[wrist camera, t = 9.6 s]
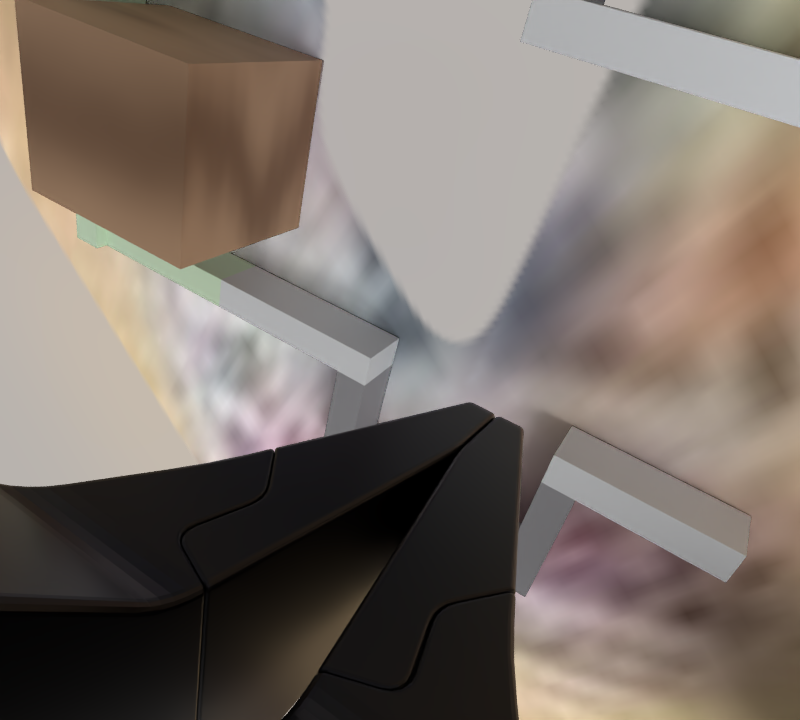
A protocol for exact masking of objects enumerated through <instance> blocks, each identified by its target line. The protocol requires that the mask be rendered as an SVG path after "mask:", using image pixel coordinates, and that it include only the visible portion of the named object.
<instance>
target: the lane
mask: <svg viewBox="0 0 800 720" xmlns="http://www.w3.org/2000/svg"><path fill="white" fill-rule="evenodd" d="M520 42H523V43H526V44H530V45H533V46H536V47H539V48H543V49H546V50H549V51H552V52H555V53H559V54H562V55H565V56H568V57H572V58H575V59H579V60H582V61H585V62H588V63H591V64H594V65H598V66H601V67H604V68H607V69H611V70H614V71H617V72H621V73H624V74H627V75H630V76H634V77H637V78H640V79H643V80H647V81H650V82H653V83H656V84H660V85H663V86H666V87H669V88H673V89H676V90H679V91H682V92H686V93H689V94H692V95H695V96H699V97H702V98H705V99H708V100H712V101H715V102H718V103H722V104H725V105H728V106H731V107H735V108H738V109H741V110H744V111H748V112H751V113H754V114H757V115H761V116H764V117H767V118H770V119H774V120H777V121H780V122H783V123H787V124H790V125H793V126H796V127H800V58H796V57H792V56H789V55H785V54H781V53H778V52H774V51H770V50H767V49H763V48H759V47H756V46H752V45H748V44H745V43H741V42H737V41H734V40H730V39H727V38H723V37H719V36H716V35H712V34H708V33H705V32H701V31H697V30H694V29H690V28H686V27H683V26H679V25H675V24H672V23H668V22H664V21H661V20H657V19H654V18H650V17H646V16H643V15H639V14H635V13H632V12H628V11H624V10H620V9H617V8H613V7H610V6H606V5H602V4H597V3H592V2H587V1H582V0H532V3H531V6H530V10H529V13H528V17H527V20H526V23H525V27H524V31H523V34H522V37H521V41H520ZM219 307H221V308H223V309H225V310H227V311H228V312H230V313H232V314H234V315H236V316H238V317H239V318H241V319H243V320H245V321H247V322H249V323H250V324H252V325H254V326H256V327H258V328H260V329H261V330H263V331H265V332H267V333H269V334H271V335H272V336H274V337H276V338H278V339H280V340H282V341H283V342H285V343H287V344H289V345H291V346H293V347H294V348H296V349H298V350H300V351H302V352H304V353H305V354H307V355H309V356H311V357H313V358H315V359H316V360H318V361H320V362H322V363H324V364H326V365H327V366H329V367H331V368H333V369H335V370H337V371H338V372H340V373H342V374H344V375H346V376H348V377H349V378H351V379H353V380H355V381H357V382H359V383H360V384H362V385H364V386H365V385H366V384H367V383H369V382H370V381H371V380H373V379H374V378H375V377H377V376H378V375H379V374H381V373H382V372H383V371H384V370H386V369H387V368H388V367H390V366H391V365H392V364H393V360H394V357H395V353H396V349H397V345H398V341H399V338H397V337H395V336H394V335H392V334H390V333H388V332H386V331H384V330H382V329H380V328H378V327H376V326H374V325H372V324H370V323H368V322H366V321H364V320H362V319H360V318H358V317H356V316H354V315H352V314H350V313H348V312H346V311H344V310H342V309H340V308H338V307H336V306H334V305H332V304H330V303H328V302H326V301H324V300H322V299H320V298H318V297H316V296H314V295H312V294H310V293H308V292H307V291H305V290H303V289H301V288H299V287H297V286H295V285H293V284H291V283H289V282H287V281H285V280H283V279H281V278H279V277H277V276H275V275H273V274H271V273H269V272H267V271H265V270H263V269H261V268H259V267H257V266H254V267H252V268H249V269H247V270H244V271H242V272H239V273H237V274H234V275H232V276H229V277H227V278H224V279H222V280H221V288H220V301H219ZM541 482H542V483H544V484H546V485H547V486H549V487H551V488H553V489H555V490H557V491H558V492H560V493H562V494H564V495H566V496H568V497H569V498H571V499H573V500H575V501H577V502H579V503H580V504H582V505H584V506H586V507H588V508H590V509H591V510H593V511H595V512H597V513H599V514H601V515H602V516H604V517H606V518H608V519H610V520H612V521H613V522H615V523H617V524H619V525H621V526H623V527H624V528H626V529H628V530H630V531H632V532H634V533H635V534H637V535H639V536H641V537H643V538H645V539H646V540H648V541H650V542H652V543H654V544H656V545H657V546H659V547H661V548H663V549H665V550H667V551H668V552H670V553H672V554H674V555H676V556H678V557H680V558H681V559H683V560H685V561H687V562H689V563H691V564H692V565H694V566H696V567H698V568H700V569H702V570H703V571H705V572H707V573H709V574H711V575H713V576H714V577H716V578H718V579H720V580H722V581H724V582H725V583H726V582H727V581H728V579H729V578H730V577H731V576H732V574H733V573H734V572H735V571H736V569H737V568H738V567H739V565H740V564H741V563H742V562H743V560H744V559H745V558H746V556H747V548H748V540H749V531H750V523H751V516H749V515H747V514H745V513H743V512H741V511H740V510H738V509H736V508H734V507H732V506H730V505H728V504H726V503H724V502H722V501H720V500H718V499H716V498H714V497H712V496H710V495H708V494H706V493H704V492H702V491H700V490H698V489H696V488H694V487H692V486H690V485H688V484H686V483H684V482H682V481H680V480H678V479H676V478H674V477H672V476H670V475H668V474H666V473H664V472H662V471H660V470H658V469H656V468H654V467H653V466H651V465H649V464H647V463H645V462H643V461H641V460H639V459H637V458H635V457H633V456H631V455H629V454H627V453H625V452H623V451H621V450H619V449H617V448H615V447H613V446H611V445H609V444H607V443H605V442H603V441H601V440H599V439H597V438H595V437H593V436H591V435H589V434H587V433H585V432H583V431H581V430H579V429H577V428H575V427H573V426H572V427H571V428H570V430H569V432H568V433H567V435H566V436H565V438H564V440H563V441H562V443H561V444H560V446H559V448H558V449H557V451H556V453H555V454H554V456H553V458H552V460H551V462H550V464H549V467H548V469H547V471H546V473H545V475H544V477H543V479H542V481H541Z"/></svg>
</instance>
